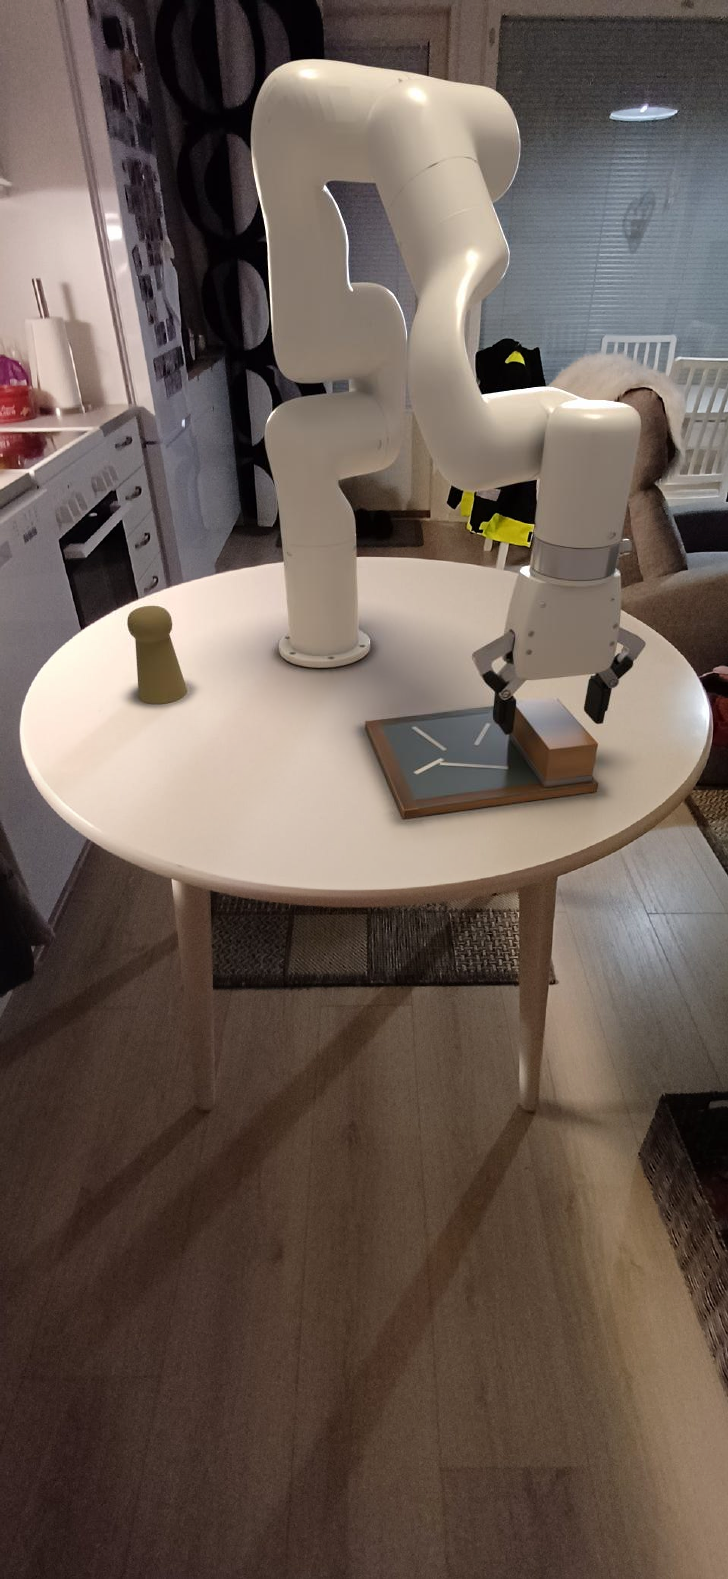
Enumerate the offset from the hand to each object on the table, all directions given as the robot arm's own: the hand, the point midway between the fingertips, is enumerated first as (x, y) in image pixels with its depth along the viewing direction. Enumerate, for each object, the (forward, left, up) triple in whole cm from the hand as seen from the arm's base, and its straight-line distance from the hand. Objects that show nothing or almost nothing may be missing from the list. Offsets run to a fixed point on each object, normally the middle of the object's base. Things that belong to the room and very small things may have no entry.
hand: (548, 722), depth 79 cm
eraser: (+1, 0, -4) cm, 4 cm away
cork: (-27, -40, -5) cm, 48 cm away
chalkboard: (-3, -7, -5) cm, 9 cm away
